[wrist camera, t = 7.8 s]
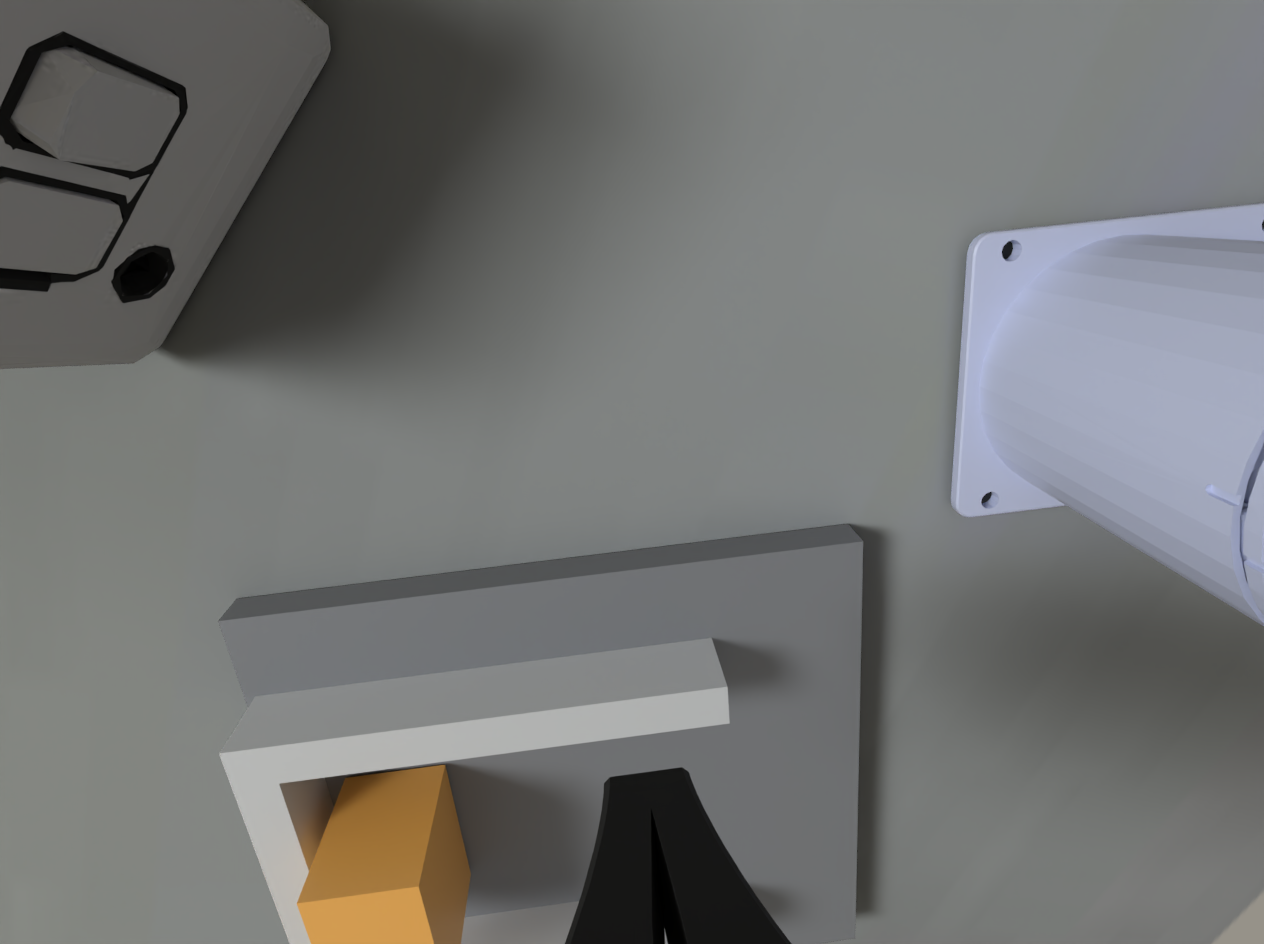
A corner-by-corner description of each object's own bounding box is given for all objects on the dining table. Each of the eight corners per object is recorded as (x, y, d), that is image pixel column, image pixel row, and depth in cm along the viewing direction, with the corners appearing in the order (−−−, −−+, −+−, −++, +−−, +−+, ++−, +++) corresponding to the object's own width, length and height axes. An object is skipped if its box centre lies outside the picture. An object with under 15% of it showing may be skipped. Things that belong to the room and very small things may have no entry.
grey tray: (847, 523, 22) (897, 581, 19) (843, 908, 27) (880, 1003, 24) (236, 598, 21) (175, 671, 18) (361, 978, 27) (333, 1086, 23)
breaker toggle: (445, 764, 22) (418, 886, 18) (470, 874, 24) (451, 1007, 20) (345, 777, 22) (296, 903, 18) (377, 887, 24) (339, 1023, 20)
